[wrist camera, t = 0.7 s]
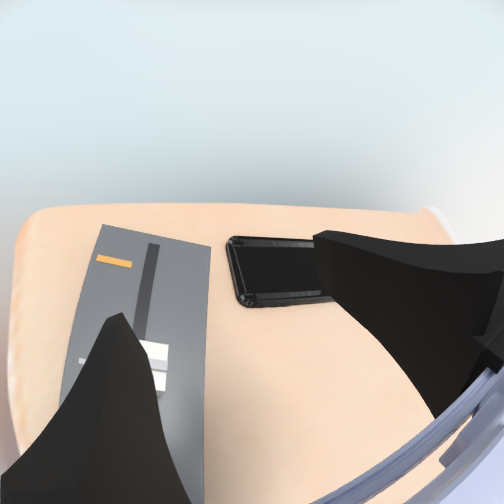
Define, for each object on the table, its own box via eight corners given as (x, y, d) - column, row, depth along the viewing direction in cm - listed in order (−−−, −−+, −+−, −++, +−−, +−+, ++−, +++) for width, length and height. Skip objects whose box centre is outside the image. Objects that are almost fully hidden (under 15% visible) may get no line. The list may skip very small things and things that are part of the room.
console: (196, 506, 16) (204, 513, 14) (62, 487, 13) (54, 492, 11) (204, 262, 29) (211, 246, 27) (103, 241, 26) (102, 223, 24)
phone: (225, 235, 31) (339, 241, 37) (222, 241, 32) (335, 246, 38) (241, 306, 27) (362, 296, 33) (237, 311, 28) (357, 301, 34)
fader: (161, 396, 18) (165, 389, 15) (102, 386, 17) (98, 377, 14) (164, 355, 20) (169, 342, 17) (108, 345, 18) (105, 330, 16)
